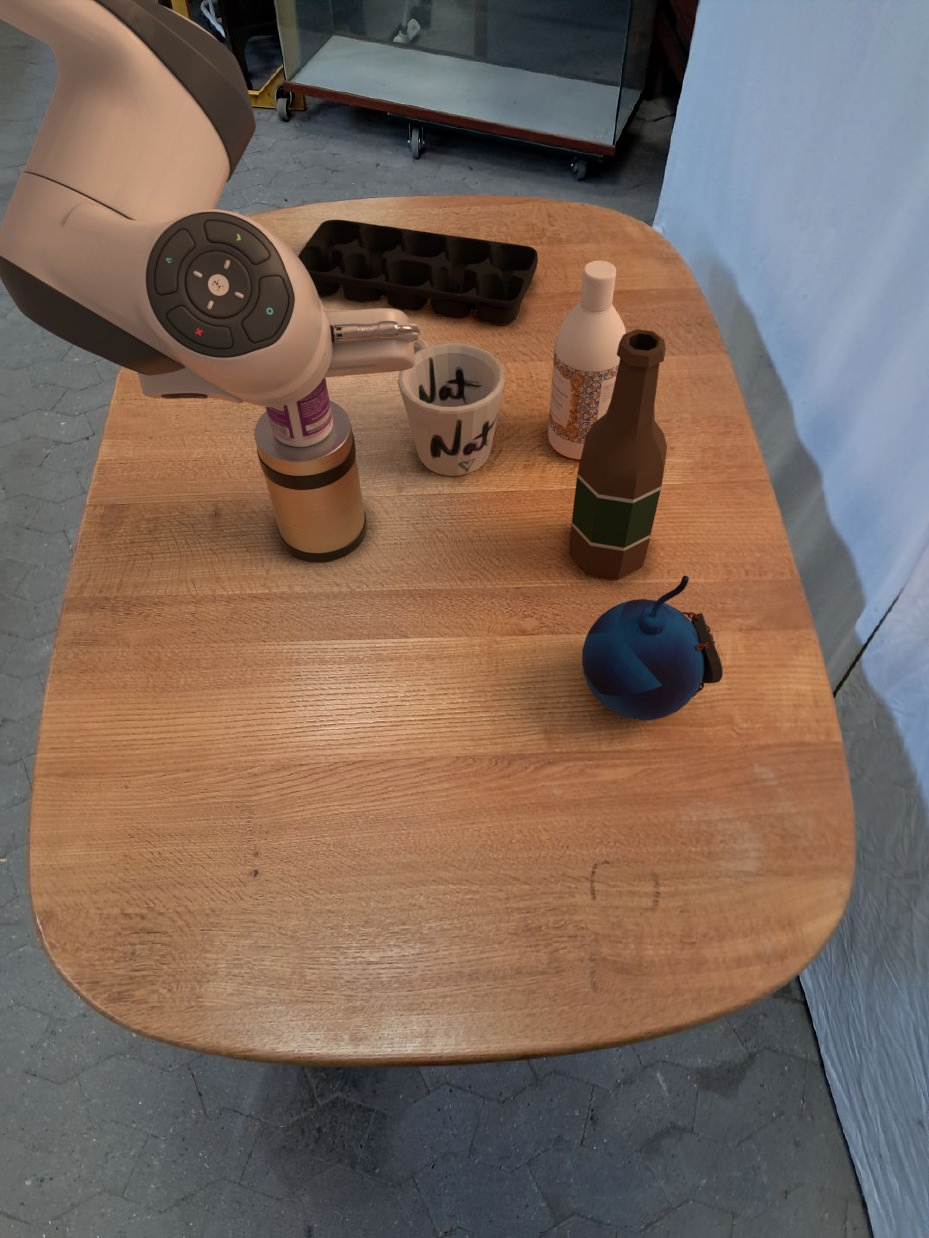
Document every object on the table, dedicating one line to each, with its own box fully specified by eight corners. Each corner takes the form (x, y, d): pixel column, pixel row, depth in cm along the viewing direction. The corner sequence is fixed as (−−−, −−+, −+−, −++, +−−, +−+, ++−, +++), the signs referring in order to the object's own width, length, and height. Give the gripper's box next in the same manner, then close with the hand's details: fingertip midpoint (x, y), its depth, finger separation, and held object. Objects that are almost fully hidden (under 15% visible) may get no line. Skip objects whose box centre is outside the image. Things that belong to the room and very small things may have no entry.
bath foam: (536, 429, 97) (546, 259, 81) (592, 410, 99) (613, 240, 83) (567, 470, 94) (584, 300, 78) (625, 449, 95) (654, 279, 79)
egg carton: (310, 243, 120) (305, 216, 117) (537, 248, 118) (539, 221, 115) (286, 324, 109) (280, 296, 106) (535, 330, 108) (537, 302, 105)
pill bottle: (331, 404, 81) (315, 310, 73) (336, 444, 78) (320, 350, 70) (270, 412, 80) (247, 318, 72) (273, 453, 77) (249, 359, 69)
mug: (427, 499, 91) (422, 423, 83) (375, 410, 100) (365, 333, 92) (520, 468, 94) (524, 391, 86) (462, 384, 102) (460, 307, 94)
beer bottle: (593, 510, 90) (623, 297, 71) (662, 544, 87) (714, 332, 68) (551, 558, 87) (571, 348, 67) (622, 595, 84) (664, 387, 64)
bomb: (720, 731, 75) (766, 624, 63) (592, 750, 74) (613, 644, 62) (685, 636, 81) (721, 521, 69) (565, 652, 80) (581, 539, 68)
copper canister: (294, 573, 86) (268, 474, 76) (269, 513, 91) (241, 411, 80) (379, 545, 88) (365, 445, 77) (350, 487, 93) (333, 385, 82)
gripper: (415, 276, 61) (413, 316, 74) (105, 300, 60) (160, 336, 73) (424, 373, 62) (420, 394, 75) (119, 398, 60) (171, 415, 74)
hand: (290, 366), depth 74 cm, fingers open, 8 cm apart
